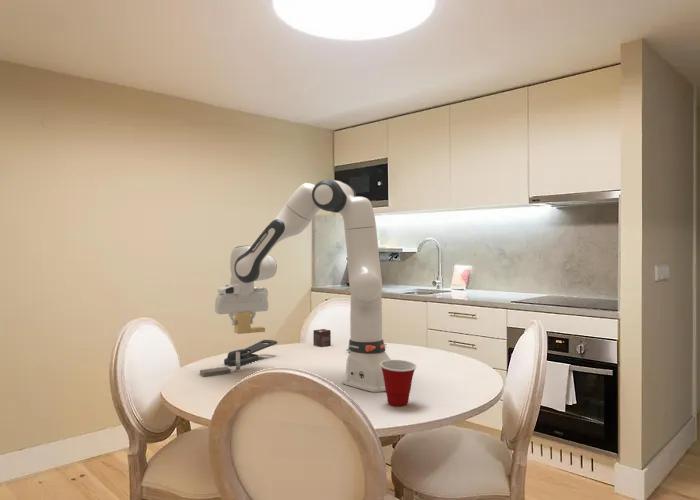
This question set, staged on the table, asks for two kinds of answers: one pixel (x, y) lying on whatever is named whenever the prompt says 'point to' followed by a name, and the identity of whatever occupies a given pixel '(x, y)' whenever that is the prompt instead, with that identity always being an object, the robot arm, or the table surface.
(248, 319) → the tan l-shaped bracket
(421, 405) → the table surface
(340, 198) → the robot arm
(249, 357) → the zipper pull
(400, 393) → the plastic cup
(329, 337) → the box
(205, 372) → the fixed leaf
